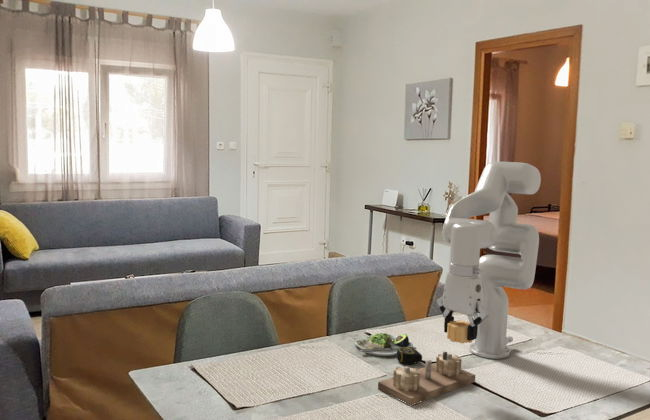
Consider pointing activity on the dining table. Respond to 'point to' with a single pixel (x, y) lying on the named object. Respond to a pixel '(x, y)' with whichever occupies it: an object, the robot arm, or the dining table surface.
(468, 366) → the dining table surface
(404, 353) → the tape measure
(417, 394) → the gear board
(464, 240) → the robot arm
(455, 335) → the ochre gear
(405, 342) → the salad plate
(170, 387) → the dining table surface
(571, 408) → the dining table surface
